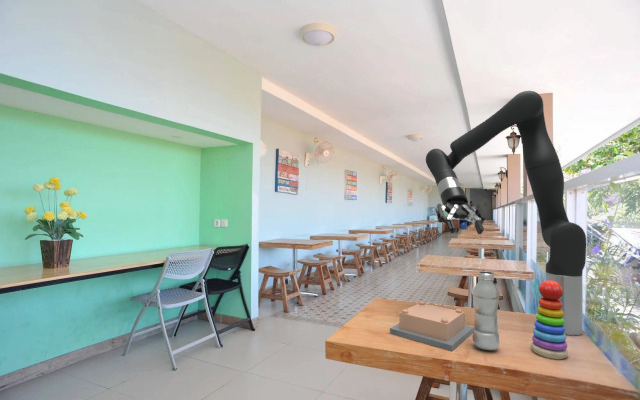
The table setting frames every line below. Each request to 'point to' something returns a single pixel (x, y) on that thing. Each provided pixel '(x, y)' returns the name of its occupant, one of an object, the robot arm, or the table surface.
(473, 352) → the table surface
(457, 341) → the brick tower base
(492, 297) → the plastic bottle
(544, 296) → the stacking toy
